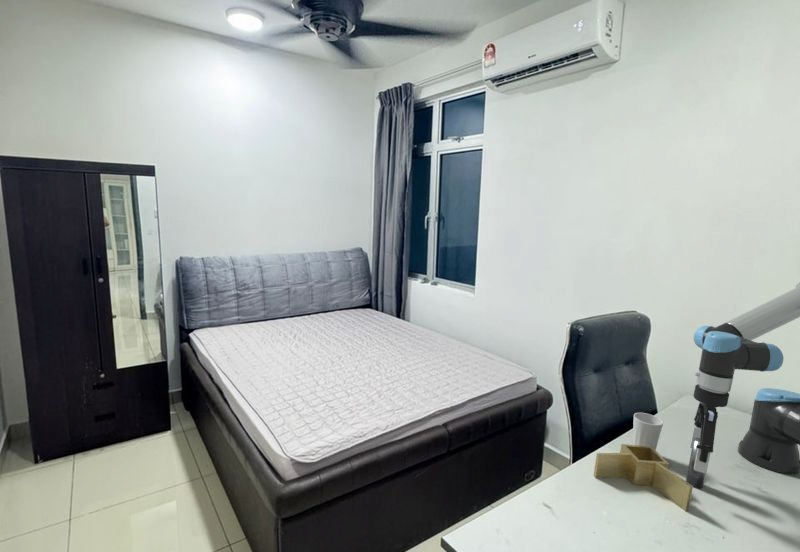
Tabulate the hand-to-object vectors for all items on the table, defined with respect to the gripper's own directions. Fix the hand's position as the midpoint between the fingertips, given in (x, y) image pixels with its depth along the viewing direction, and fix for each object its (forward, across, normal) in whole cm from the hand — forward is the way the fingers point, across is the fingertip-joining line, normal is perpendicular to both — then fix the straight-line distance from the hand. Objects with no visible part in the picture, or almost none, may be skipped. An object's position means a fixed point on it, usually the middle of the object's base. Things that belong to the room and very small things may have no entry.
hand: (697, 459), depth 117 cm
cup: (+8, -9, -13) cm, 17 cm away
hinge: (+8, +12, -14) cm, 20 cm away
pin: (+8, 0, 0) cm, 8 cm away
